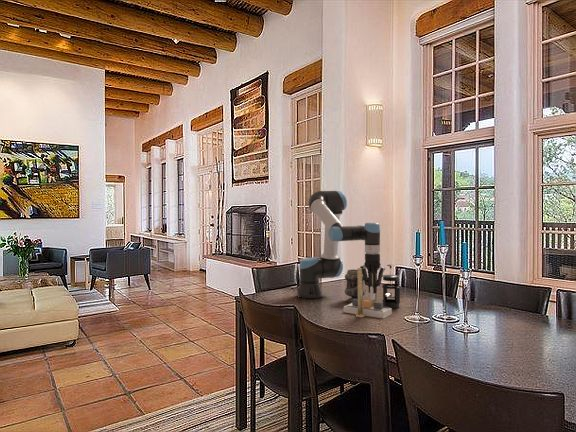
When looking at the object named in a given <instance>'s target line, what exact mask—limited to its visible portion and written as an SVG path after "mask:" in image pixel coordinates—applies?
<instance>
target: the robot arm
mask: <svg viewBox="0 0 576 432" xmlns="http://www.w3.org/2000/svg"><path fill="white" fill-rule="evenodd" d="M307 203H308V208H309V211H310V212H312V214H314V215H316V216H317V217H318V218H319V220H320V221H321V222H322V224H323V225H324V237H323V240H324V241H323V242H324V243H323V253H322V254H321V255H320V259H319V257H317V256H316V257H315V256H314V257H313V256H311V257H305V258H303V259H301V260H300V262H299V267H298V268H299V285H298V289H297V292H296V297H297V296H299V297H302V298H301V299H304V298H310V300H311V298H315V299H319V298H322V297H323V292H322V289H321V286H320V282H319V281H320V280H319V279H329V278H331V279H333V278H337V277H340V276H341V274H342V272H343V269H344V265H343V264H344V263H343V260H342V258H340V255H339V254H338V253H339V252H338V250H339V249H338V248H339V242H349V241H351V242H353V241H364V253H365V254H364V264H363V265H360V267H359V268H362V273H363V278H364V280H363V283H364V285H365V286H367V287H368V293H369V299H370V300H369V301H372V300H375V293H376V294H377V293H378V290H377V289H378V287H380V286H381V284H382V280H383V277H382V276H383V275H384V272H385V270H386V267H383V266H382V264H381V254H380V253H381V227H380V226H381V225H380V223H378V222H365V223H364V225H352V226H351V225H349V226H345V225H344V224H342V223H341V221H340V218H341V216H342V214H343V211H344V210H346V209H347V205H348V204H347V203H348V201H347V197H346V195H345V193H344V192H343V191H341V190H318V191H315V192H314V193H312V194H311V195H310V197H309V198H308V202H307ZM378 271H379V272H378ZM372 274H373V285H372ZM299 297H298V298H299Z"/></svg>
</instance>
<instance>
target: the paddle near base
mask: <svg viewBox="0 0 576 432" xmlns="http://www.w3.org/2000/svg"><path fill="white" fill-rule="evenodd" d="M352 305H355V306H358V299H352Z"/></svg>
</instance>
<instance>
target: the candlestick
mask: <svg viewBox="0 0 576 432" xmlns="http://www.w3.org/2000/svg"><path fill="white" fill-rule="evenodd" d="M357 270H358V314H355V317H356V318H359V319H360V318H361V319H363V318H365V317H366V316H365V314H363V300H364V299H363V296H364V295H363V288H364V280H362V268H360V267H357Z"/></svg>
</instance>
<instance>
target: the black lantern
mask: <svg viewBox="0 0 576 432" xmlns="http://www.w3.org/2000/svg"><path fill="white" fill-rule="evenodd" d="M386 266H387V267H389V270H390V271H389V272H390V273H389V274H383V275H382V280H383V281H384V282H385V281H386V282H390V283H381V284H382V286H381V287H382V288H383V289H382V290H383V291H382V292H383V293H382V297H383V298H382V301H381V302H383V307H389V308H392V310H397V309H400V307H401V306H400V304H401V301H400V300H401V299H400V297H401V296H400V293H401V288H400V284H397V283H392V282H398V281H399V277H400V275H398V274H392V269H393V268H392V267H395V266H396V265H395V264H386ZM388 290H389V291H390V293H388ZM392 290H394V293H392Z"/></svg>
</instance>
